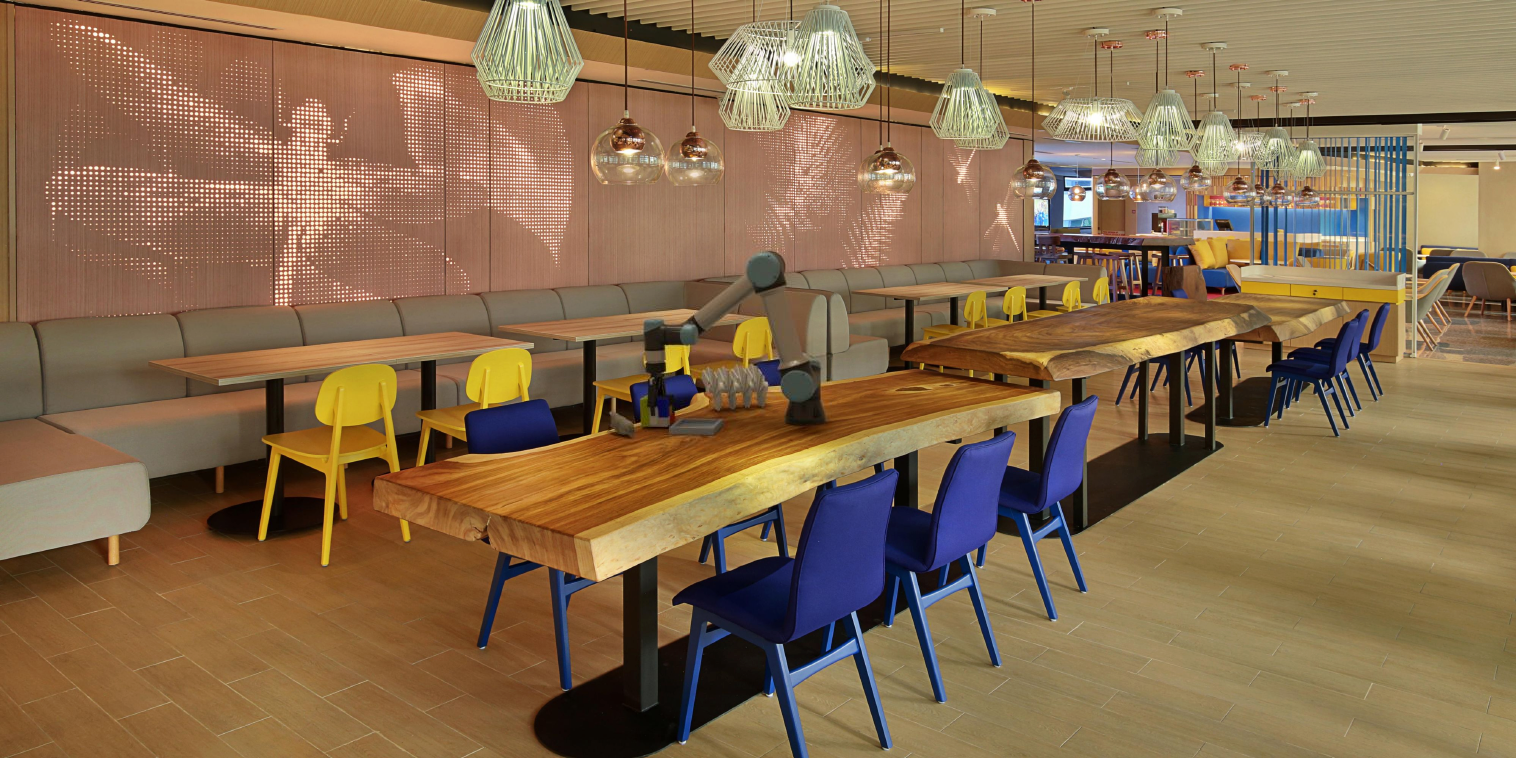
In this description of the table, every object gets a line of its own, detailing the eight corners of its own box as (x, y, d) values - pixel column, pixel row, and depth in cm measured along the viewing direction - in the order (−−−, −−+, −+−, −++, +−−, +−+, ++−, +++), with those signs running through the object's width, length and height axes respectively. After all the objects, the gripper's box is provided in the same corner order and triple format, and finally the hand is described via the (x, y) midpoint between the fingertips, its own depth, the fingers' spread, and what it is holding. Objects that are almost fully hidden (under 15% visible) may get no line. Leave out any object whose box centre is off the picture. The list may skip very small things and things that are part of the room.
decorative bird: (625, 440, 357) (624, 418, 356) (605, 432, 370) (604, 411, 369) (639, 437, 360) (638, 416, 359) (618, 430, 373) (617, 410, 372)
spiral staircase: (769, 418, 409) (710, 420, 400) (755, 392, 422) (697, 394, 413) (778, 379, 399) (717, 381, 390) (764, 355, 413) (704, 356, 404)
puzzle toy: (667, 426, 372) (666, 399, 370) (641, 426, 374) (639, 399, 372) (675, 421, 382) (674, 394, 380) (649, 420, 384) (648, 394, 382)
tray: (723, 425, 377) (722, 419, 376) (713, 435, 361) (713, 428, 361) (680, 424, 380) (680, 418, 379) (669, 434, 364) (668, 427, 364)
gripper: (654, 357, 386) (656, 415, 389) (636, 366, 364) (639, 427, 367) (673, 357, 384) (676, 415, 388) (656, 366, 363) (659, 428, 366)
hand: (658, 421), depth 378 cm, fingers closed on puzzle toy, 10 cm apart
